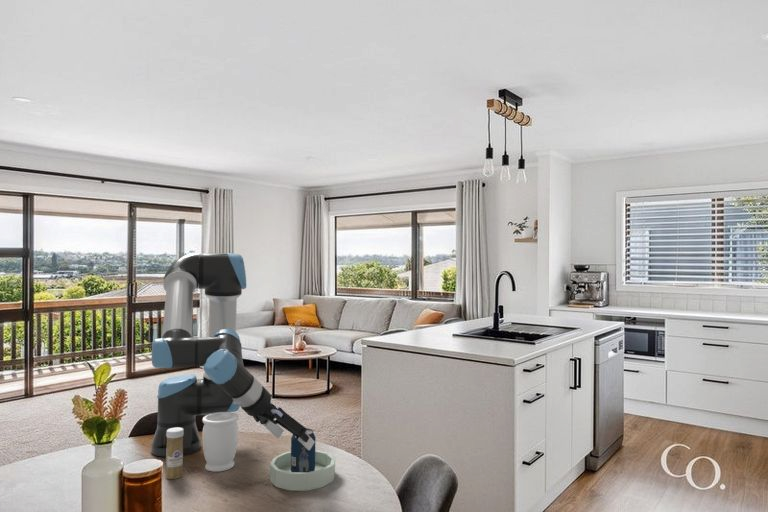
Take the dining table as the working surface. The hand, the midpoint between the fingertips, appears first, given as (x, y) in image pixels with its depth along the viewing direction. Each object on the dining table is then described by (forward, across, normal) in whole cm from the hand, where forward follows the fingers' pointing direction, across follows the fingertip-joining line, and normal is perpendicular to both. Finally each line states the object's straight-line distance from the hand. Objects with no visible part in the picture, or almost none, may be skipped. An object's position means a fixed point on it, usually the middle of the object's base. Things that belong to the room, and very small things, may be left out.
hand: (295, 439), depth 146 cm
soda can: (+10, 0, -5) cm, 11 cm away
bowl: (+10, 0, -6) cm, 12 cm away
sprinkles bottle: (-6, -28, -24) cm, 37 cm away
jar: (+2, -24, -14) cm, 29 cm away
